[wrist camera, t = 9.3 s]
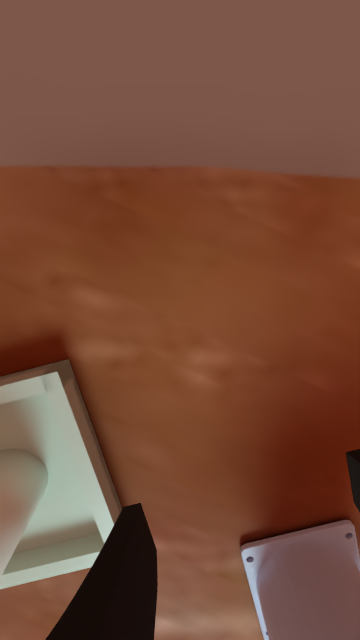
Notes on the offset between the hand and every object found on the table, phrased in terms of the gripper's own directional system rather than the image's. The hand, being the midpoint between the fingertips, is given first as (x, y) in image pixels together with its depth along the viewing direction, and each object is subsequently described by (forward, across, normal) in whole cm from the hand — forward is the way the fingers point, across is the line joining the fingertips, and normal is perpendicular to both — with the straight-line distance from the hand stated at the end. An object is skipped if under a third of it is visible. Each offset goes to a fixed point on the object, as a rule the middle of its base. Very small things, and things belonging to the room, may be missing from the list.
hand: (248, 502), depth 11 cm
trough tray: (+9, +14, +2) cm, 17 cm away
